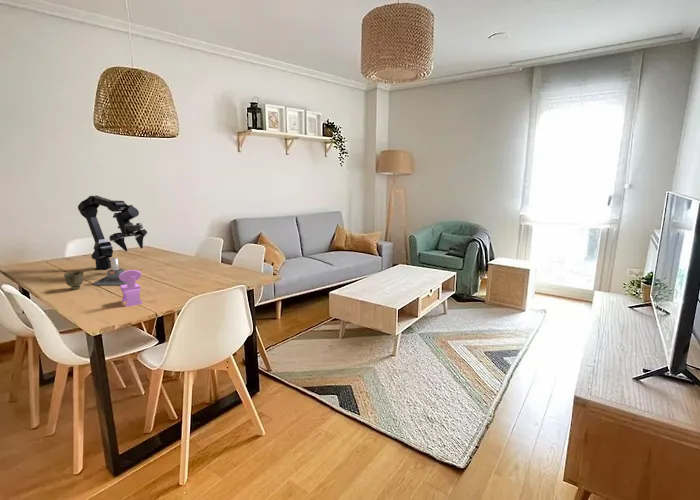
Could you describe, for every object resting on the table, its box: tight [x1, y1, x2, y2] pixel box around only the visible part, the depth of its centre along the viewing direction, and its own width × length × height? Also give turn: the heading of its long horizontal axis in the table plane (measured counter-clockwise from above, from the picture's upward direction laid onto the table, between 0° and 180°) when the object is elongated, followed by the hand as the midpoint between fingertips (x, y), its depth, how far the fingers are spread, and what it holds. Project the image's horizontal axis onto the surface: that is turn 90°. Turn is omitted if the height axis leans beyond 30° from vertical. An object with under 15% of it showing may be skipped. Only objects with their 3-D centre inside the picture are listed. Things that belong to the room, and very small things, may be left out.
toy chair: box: [119, 269, 143, 308], centre depth 158 cm, size 8×9×15 cm
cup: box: [63, 270, 84, 291], centre depth 175 cm, size 8×7×8 cm
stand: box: [93, 268, 127, 286], centre depth 189 cm, size 14×14×6 cm
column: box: [110, 257, 120, 271], centre depth 188 cm, size 4×4×12 cm
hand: (134, 249), depth 201 cm, fingers open, 9 cm apart
